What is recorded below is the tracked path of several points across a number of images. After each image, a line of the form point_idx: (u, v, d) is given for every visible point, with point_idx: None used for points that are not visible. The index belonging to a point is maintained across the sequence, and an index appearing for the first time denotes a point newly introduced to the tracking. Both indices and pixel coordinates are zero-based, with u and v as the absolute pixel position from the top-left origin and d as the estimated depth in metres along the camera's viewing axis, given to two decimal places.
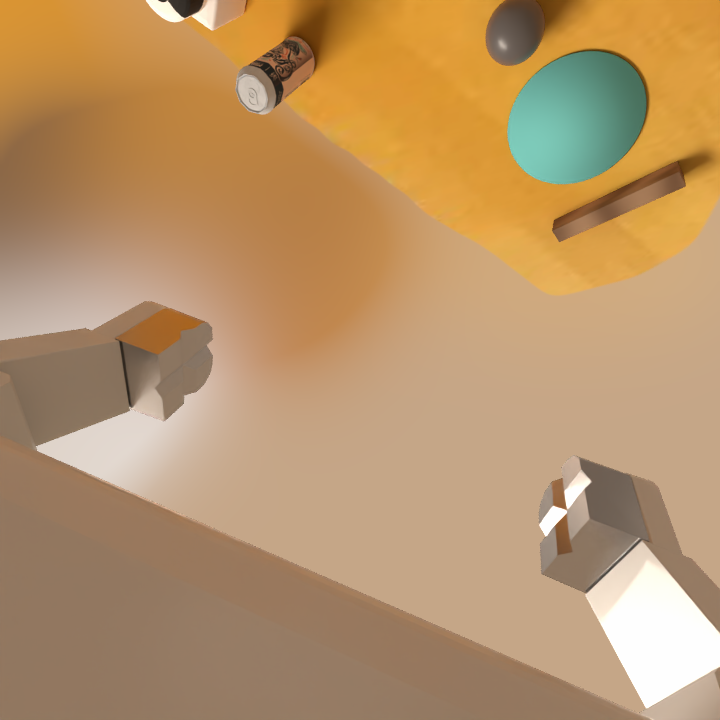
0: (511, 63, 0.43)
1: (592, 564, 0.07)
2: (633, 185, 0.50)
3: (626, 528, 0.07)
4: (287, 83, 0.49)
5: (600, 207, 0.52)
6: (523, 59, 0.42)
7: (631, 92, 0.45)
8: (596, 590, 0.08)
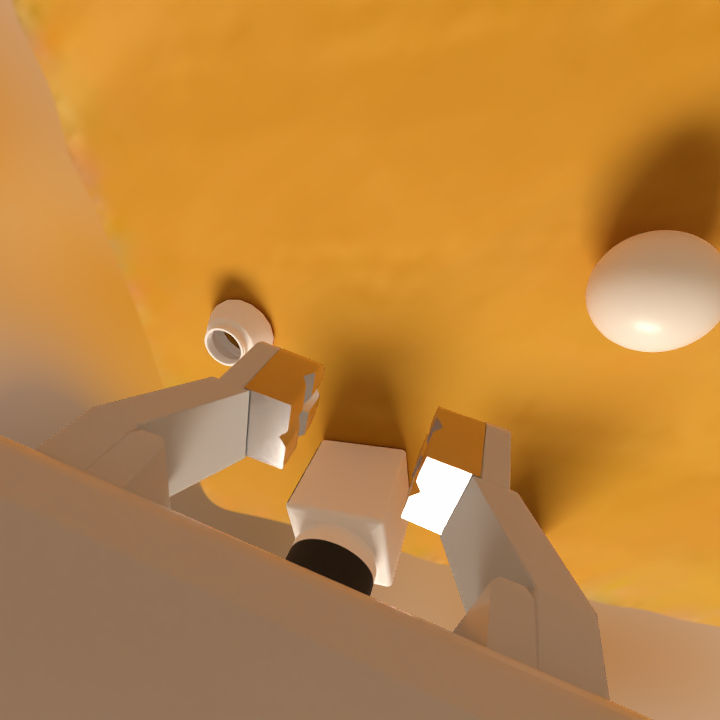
0: None
1: (440, 504, 0.08)
2: None
3: (462, 466, 0.07)
4: None
5: None
6: None
7: None
8: (448, 531, 0.08)
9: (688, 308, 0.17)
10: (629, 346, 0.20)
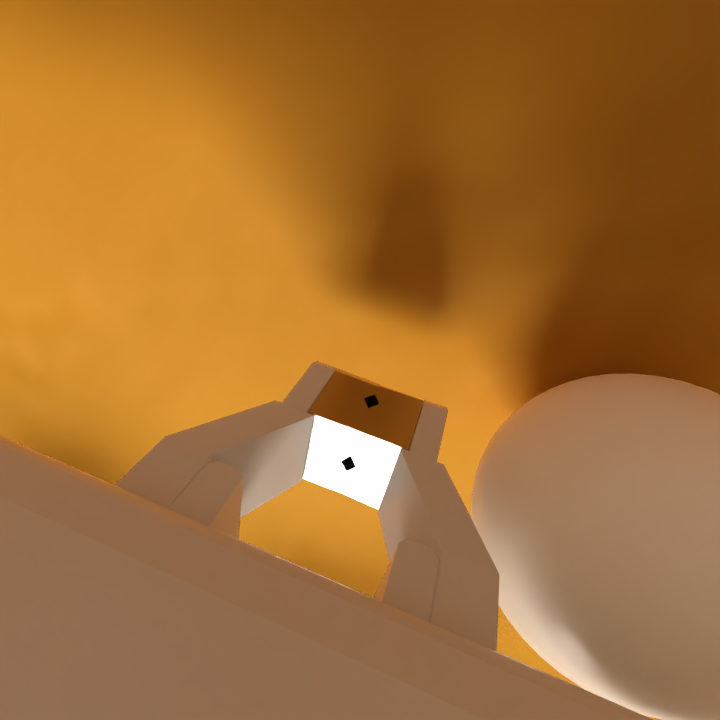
0: None
1: (374, 479, 0.08)
2: None
3: (392, 439, 0.07)
4: None
5: None
6: None
7: None
8: (386, 505, 0.08)
9: None
10: None
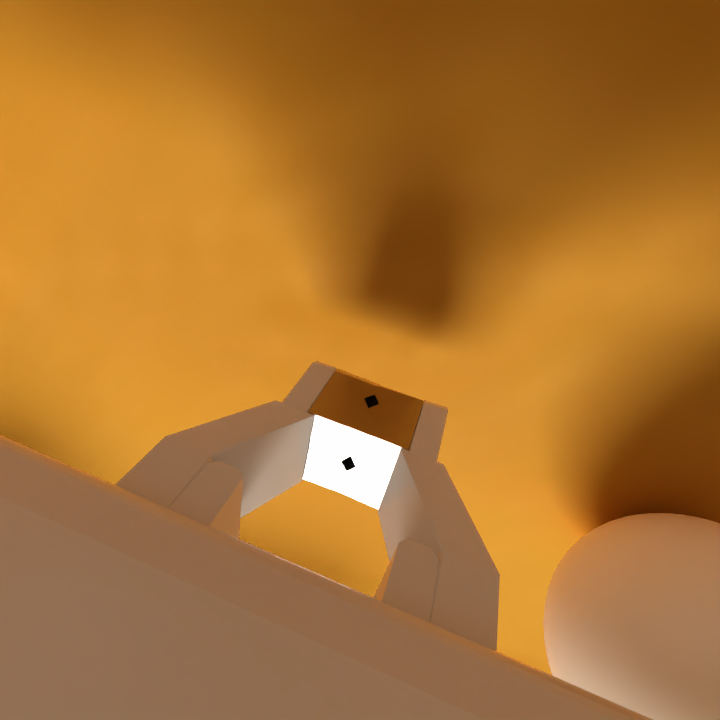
0: None
1: (374, 478, 0.08)
2: None
3: (392, 439, 0.07)
4: None
5: None
6: None
7: None
8: (386, 505, 0.08)
9: (696, 517, 0.09)
10: None
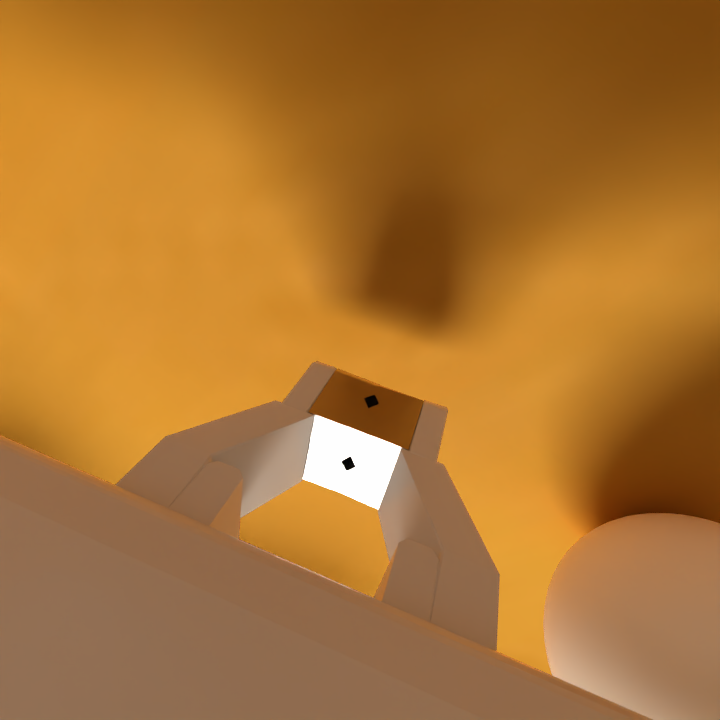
0: None
1: (374, 478, 0.08)
2: None
3: (392, 439, 0.07)
4: None
5: None
6: None
7: None
8: (386, 505, 0.08)
9: (696, 517, 0.09)
10: None
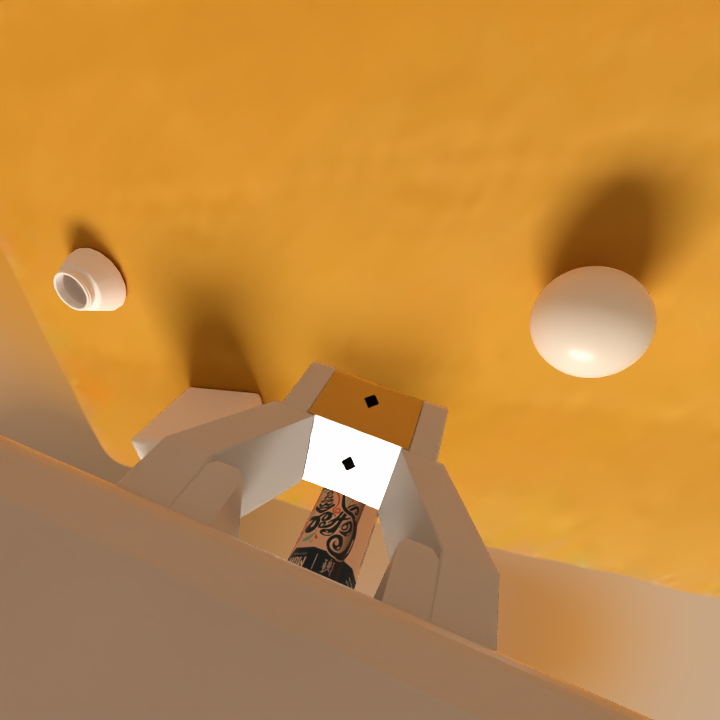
0: None
1: (374, 478, 0.08)
2: None
3: (392, 440, 0.07)
4: (355, 551, 0.28)
5: None
6: None
7: None
8: (386, 505, 0.08)
9: None
10: None
